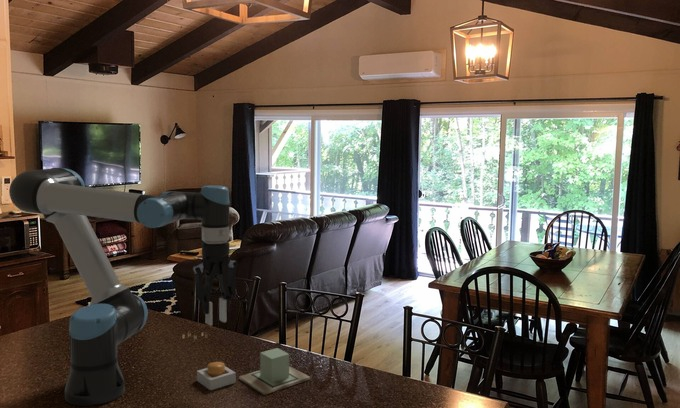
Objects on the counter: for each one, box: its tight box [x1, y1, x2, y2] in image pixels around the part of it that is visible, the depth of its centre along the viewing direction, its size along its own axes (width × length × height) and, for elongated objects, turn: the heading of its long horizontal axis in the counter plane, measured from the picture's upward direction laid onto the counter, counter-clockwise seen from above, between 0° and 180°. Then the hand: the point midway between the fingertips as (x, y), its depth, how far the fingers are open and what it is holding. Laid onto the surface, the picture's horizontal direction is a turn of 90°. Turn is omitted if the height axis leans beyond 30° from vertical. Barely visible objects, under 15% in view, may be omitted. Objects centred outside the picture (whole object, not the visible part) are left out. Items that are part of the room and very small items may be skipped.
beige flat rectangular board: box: [238, 365, 311, 396], centre depth 167 cm, size 16×13×1 cm
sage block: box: [259, 347, 290, 382], centre depth 167 cm, size 6×6×7 cm
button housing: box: [196, 365, 237, 391], centre depth 165 cm, size 8×8×3 cm
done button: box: [207, 361, 226, 377], centre depth 164 cm, size 5×5×3 cm
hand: (216, 322), depth 163 cm, fingers open, 4 cm apart
